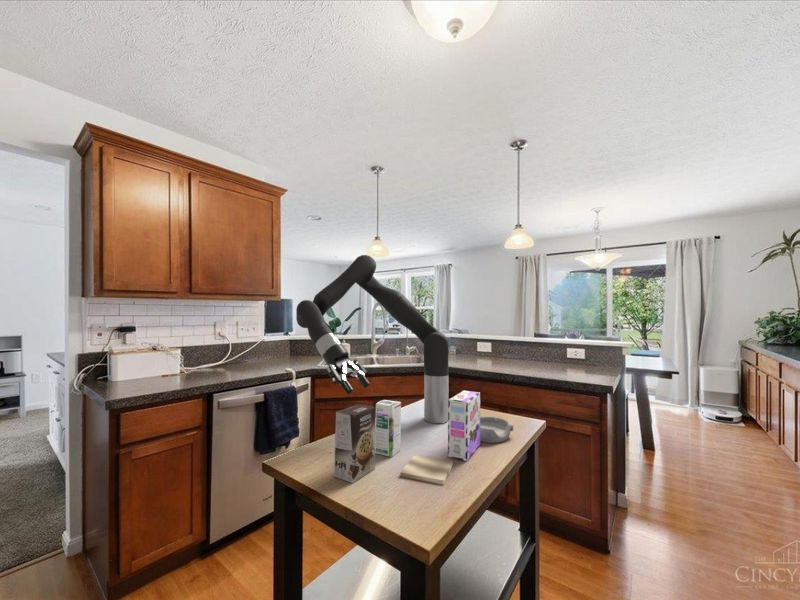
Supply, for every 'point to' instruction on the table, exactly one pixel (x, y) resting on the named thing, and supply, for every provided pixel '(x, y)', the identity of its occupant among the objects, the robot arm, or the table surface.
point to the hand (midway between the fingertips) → (359, 389)
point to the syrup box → (388, 428)
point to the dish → (494, 429)
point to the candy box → (463, 425)
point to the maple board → (427, 469)
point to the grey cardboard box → (354, 442)
